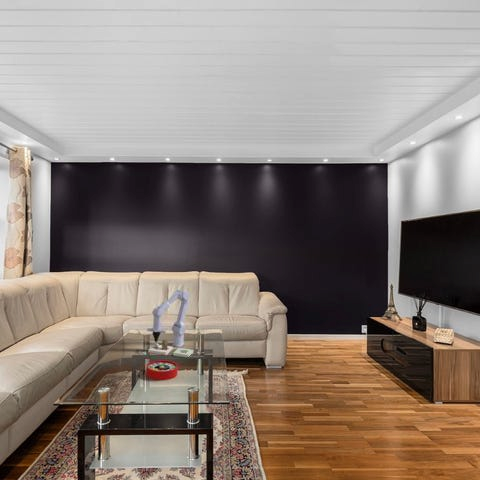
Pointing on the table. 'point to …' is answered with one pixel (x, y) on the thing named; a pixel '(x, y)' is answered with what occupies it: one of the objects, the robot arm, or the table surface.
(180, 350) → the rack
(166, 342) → the peg
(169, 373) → the toy clock
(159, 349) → the socket block
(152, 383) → the table surface
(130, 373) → the table surface
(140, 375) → the table surface
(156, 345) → the grey metal knob
